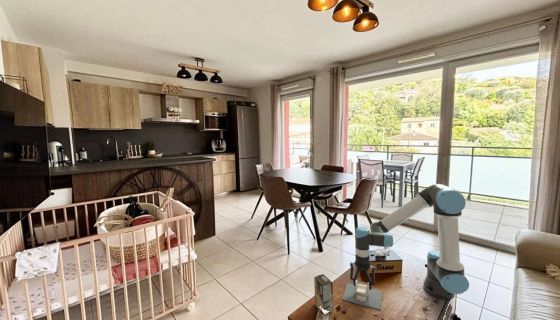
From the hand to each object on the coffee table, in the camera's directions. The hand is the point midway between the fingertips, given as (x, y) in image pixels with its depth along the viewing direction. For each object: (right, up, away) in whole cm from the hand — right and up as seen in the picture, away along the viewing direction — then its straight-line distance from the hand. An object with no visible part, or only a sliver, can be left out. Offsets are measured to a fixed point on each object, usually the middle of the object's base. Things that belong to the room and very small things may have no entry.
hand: (362, 292), depth 132 cm
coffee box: (-24, -4, -8) cm, 26 cm away
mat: (0, -2, 0) cm, 2 cm away
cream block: (0, -1, 0) cm, 1 cm away
